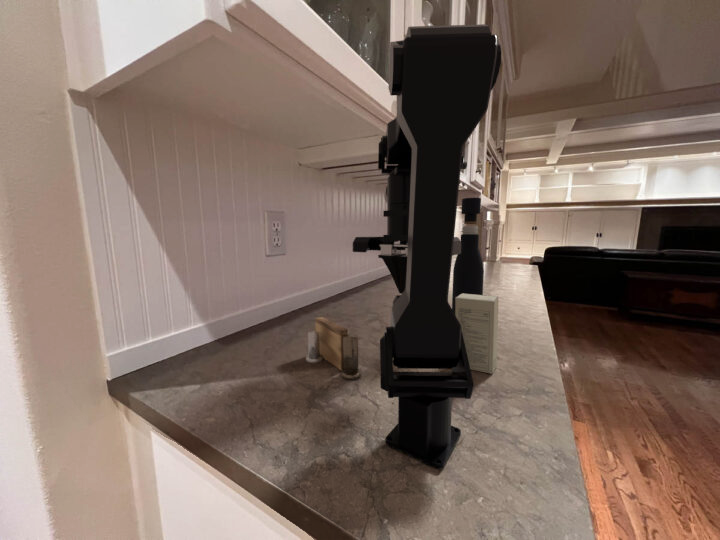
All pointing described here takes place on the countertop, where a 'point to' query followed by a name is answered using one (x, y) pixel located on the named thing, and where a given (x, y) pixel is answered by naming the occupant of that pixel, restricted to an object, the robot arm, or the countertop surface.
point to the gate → (331, 341)
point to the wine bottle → (468, 255)
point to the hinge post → (350, 357)
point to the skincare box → (479, 329)
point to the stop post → (314, 348)
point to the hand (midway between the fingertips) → (402, 293)
